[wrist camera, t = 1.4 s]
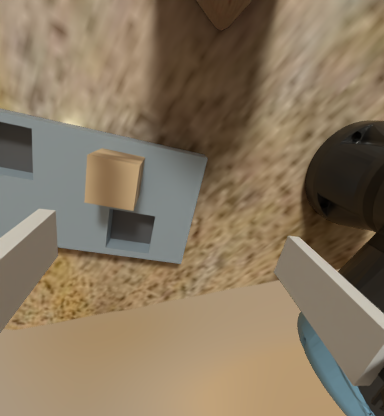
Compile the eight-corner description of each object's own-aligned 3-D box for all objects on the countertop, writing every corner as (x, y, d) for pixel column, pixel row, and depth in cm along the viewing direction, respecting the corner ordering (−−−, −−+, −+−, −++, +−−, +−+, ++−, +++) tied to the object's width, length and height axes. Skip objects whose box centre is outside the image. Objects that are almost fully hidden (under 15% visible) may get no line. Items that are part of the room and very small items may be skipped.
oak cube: (145, 157, 26) (139, 165, 22) (139, 195, 28) (133, 210, 24) (102, 148, 26) (87, 154, 21) (98, 188, 27) (84, 202, 23)
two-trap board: (204, 154, 30) (211, 162, 24) (180, 252, 36) (181, 277, 30) (-92, 87, 24) (-170, 78, 19) (-65, 217, 30) (-119, 240, 24)
